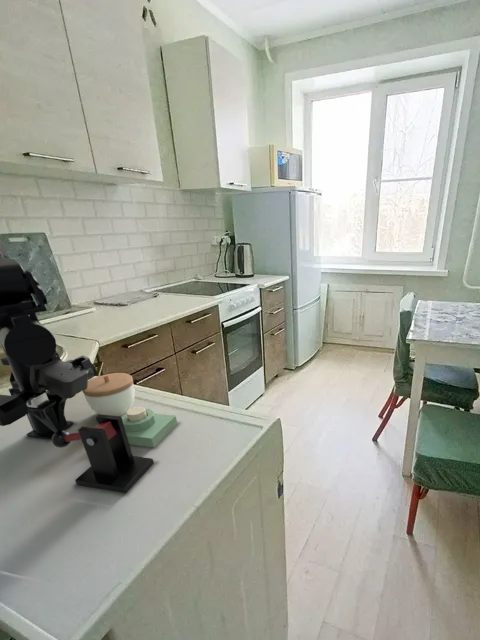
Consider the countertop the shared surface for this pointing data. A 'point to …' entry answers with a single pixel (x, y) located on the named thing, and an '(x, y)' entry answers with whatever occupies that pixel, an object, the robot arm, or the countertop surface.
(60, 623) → the countertop surface
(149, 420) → the green button pad
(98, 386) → the trinket box
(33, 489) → the countertop surface
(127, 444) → the lever stand
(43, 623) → the countertop surface
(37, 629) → the countertop surface
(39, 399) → the robot arm
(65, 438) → the red lever
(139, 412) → the timer button
